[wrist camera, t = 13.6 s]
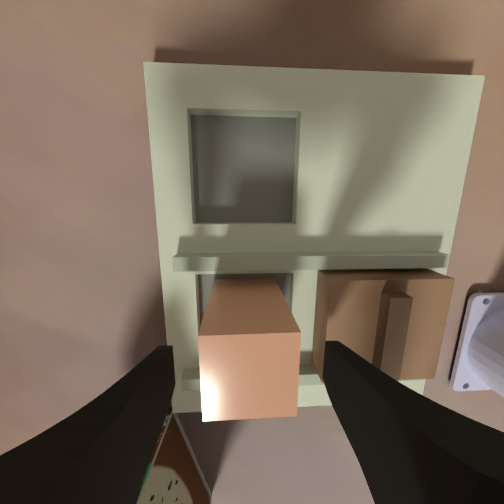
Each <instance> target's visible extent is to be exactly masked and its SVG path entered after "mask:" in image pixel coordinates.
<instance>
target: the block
mask: <svg viewBox="0 0 504 504" xmlns="http://www.w3.org/2000/svg"><path fill="white" fill-rule="evenodd" d="M300 345H301V331H300V329H299V327H298V325H297V323H296V321H295V319H294V316H293V314H292V312H291V310H290V308H289V306H288V304H287V302H286V300H285V298H284V296H283V294H282V292H281V290H280V288H279V285H278V283H277V281H276V279H275V278H252V279H214V281H213V285H212V288H211V292H210V295H209V299H208V302H207V306H206V309H205V313H204V316H203V320H202V323H201V327H200V330H199V334H198V348H199V366H200V384H201V401H202V419H203V422H205V421H222V420H240V419H257V418H274V417H292V416H297V403H298V384H299V364H300Z"/></svg>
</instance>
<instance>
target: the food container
mask: <svg viewBox="0 0 504 504" xmlns="http://www.w3.org/2000/svg"><path fill="white" fill-rule="evenodd" d="M211 497H212V494H211V491H210V489H209V487H208V484H207V482H206V480H205V477H204V475H203V473H202V470H201V468H200V466H199V464H198V461H197V459H196V457H195V454H194V452H193V450H192V447H191V445H190V443H189V440H188V438H187V436H186V434H185V431H184V429H183V427H182V424H181V422H180V420H179V417H178V415H177V413H173V410H172V407H170V408H169V410H168V413H167V416H166V419H165V422H164V424H163V427H162V430H161V432H160V435H159V438H158V440H157V443H156V446H155V449H154V451H153V454H152V457H151V459H150V462H149V465H148V468H147V471H146V474H145V477H144V480H143V483H142V487H141V490H140V494H139V497H138V501H137V504H211Z"/></svg>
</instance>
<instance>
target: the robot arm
mask: <svg viewBox="0 0 504 504" xmlns="http://www.w3.org/2000/svg"><path fill="white" fill-rule="evenodd" d="M322 378H323V382H324V385H325V388H326V391H327V393H328V396H329V399H330V401H331V404H332V406H333V408H334V410H335V412H336V414H337V416H338V419H339V421H340V423H341V425H342V427H343V429H344V431H345V433H346V435H347V437H348V439H349V441H350V444H351V446H352V448H353V450H354V452H355V454H356V456H357V459H358V461H359V463H360V466H361V468H362V471H363V473H364V476H365V478H366V481H367V484H368V486H369V489H370V492H371V494H372V497H373V500H374V502H375V504H504V432H501V431H499V430H496V429H494V428H491V427H489V426H487V425H484V424H482V423H479V422H477V421H475V420H472V419H470V418H468V417H465V416H463V415H461V414H459V413H457V412H455V411H453V410H450V409H448V408H446V407H444V406H442V405H440V404H438V403H436V402H434V401H432V400H430V399H428V398H426V397H424V396H423V395H421V394H419V393H417V392H415V391H414V390H412V389H410V388H408V387H407V386H405V385H403V384H401V383H400V382H398V381H397V380H395V379H393V378H392V377H390V376H389V375H387V374H386V373H384V372H383V371H381V370H379V369H378V368H377V367H375V366H374V365H372V364H371V363H369V362H368V361H366V360H365V359H364V358H362V357H361V356H359V355H358V354H357V353H355V352H354V351H352V350H351V349H350V348H348V347H347V346H345V345H344V344H342V343H341V342H339V341H325V350H324V363H323V375H322ZM175 384H176V382H175V369H174V356H173V345H167V346H158V347H157V348H156V349H155V350H154V351H152V352H151V353H150V354H149V355H148V356H147V357H146V358H145V359H143V360H142V361H141V362H140V363H139V364H138V365H137V366H135V367H134V368H133V369H132V370H131V371H130V372H129V373H127V374H126V375H125V376H124V377H122V378H121V379H120V380H119V381H117V382H116V383H115V384H114V385H112V386H111V387H110V388H109V389H107V390H106V391H105V392H104V393H102V394H101V395H99V396H98V397H97V398H95V399H94V400H93V401H91V402H90V403H88V404H87V405H85V406H84V407H82V408H81V409H79V410H78V411H77V412H75V413H73V414H72V415H70V416H69V417H67V418H65V419H64V420H62V421H61V422H59V423H57V424H56V425H54V426H52V427H51V428H49V429H47V430H46V431H44V432H42V433H41V434H39V435H37V436H36V437H34V438H32V439H30V440H28V441H27V442H25V443H23V444H21V445H19V446H17V447H16V448H14V449H12V450H10V451H8V452H6V453H4V454H2V455H0V504H137V501H138V497H139V494H140V490H141V487H142V483H143V480H144V477H145V474H146V471H147V468H148V465H149V462H150V459H151V457H152V454H153V451H154V449H155V446H156V443H157V440H158V438H159V435H160V432H161V430H162V427H163V424H164V422H165V419H166V416H167V413H168V410H169V408H170V404H171V400H172V396H173V392H174V388H175ZM450 387H451V388H453V389H454V390H455V391H474V390H494V391H495V392H497V393H498V394H499V395H501V396H502V397H504V292H495V293H474V294H472V295H471V296H470V297H469V299H468V303H467V308H466V312H465V317H464V321H463V326H462V330H461V335H460V339H459V344H458V348H457V353H456V357H455V362H454V366H453V370H452V375H451V379H450Z"/></svg>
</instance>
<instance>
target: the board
mask: <svg viewBox="0 0 504 504" xmlns="http://www.w3.org/2000/svg"><path fill="white" fill-rule="evenodd" d="M143 65H144V77H145V89H146V101H147V113H148V125H149V136H150V148H151V160H152V172H153V184H154V196H155V208H156V220H157V232H158V244H159V256H160V268H161V279H162V291H163V303H164V315H165V327H166V339H167V345H173V356H174V369H175V382H176V384H175V388H174V392H173V396H172V410H173V413H187V412H202V401H201V384H200V366H199V348H198V334H199V330H200V327H201V323H202V320H203V316H204V313H205V309H206V306H207V302H208V299H209V295H210V292H211V288H212V285H213V281H214V279H252V278H275V279H276V281H277V283H278V285H279V288H280V290H281V292H282V294H283V296H284V298H285V300H286V302H287V304H288V306H289V308H290V310H291V312H292V314H293V316H294V319H295V321H296V323H297V325H298V327H299V329H300V331H301V345H300V364H299V384H298V403H297V407H304V406H324V405H332V404H331V401H330V399H329V396H328V393H327V391H326V388H325V385H324V383H322V382H321V380H320V378H319V376H318V374H317V371H316V369H315V367H314V365H313V363H312V347H313V333H314V319H315V304H316V290H317V276H318V270H345V269H417V268H427V269H429V270H432V271H435V272H438V273H440V274H443V275H446V272H447V267H448V262H449V257H450V252H451V247H452V242H453V237H454V232H455V226H456V221H457V216H458V211H459V206H460V201H461V196H462V191H463V186H464V180H465V175H466V170H467V165H468V160H469V155H470V150H471V145H472V140H473V134H474V129H475V124H476V119H477V114H478V109H479V104H480V99H481V94H482V88H483V83H484V78H485V76H479V75H455V74H430V73H406V72H382V71H357V70H333V69H308V68H284V67H259V66H235V65H210V64H186V63H161V62H143ZM425 380H426V379H411V380H399V381H398V382H400V383H401V384H403V385H405V386H407V387H408V388H410V389H412V390H414V391H415V392H417V393H419V394H421V395H423V390H424V385H425Z"/></svg>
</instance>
